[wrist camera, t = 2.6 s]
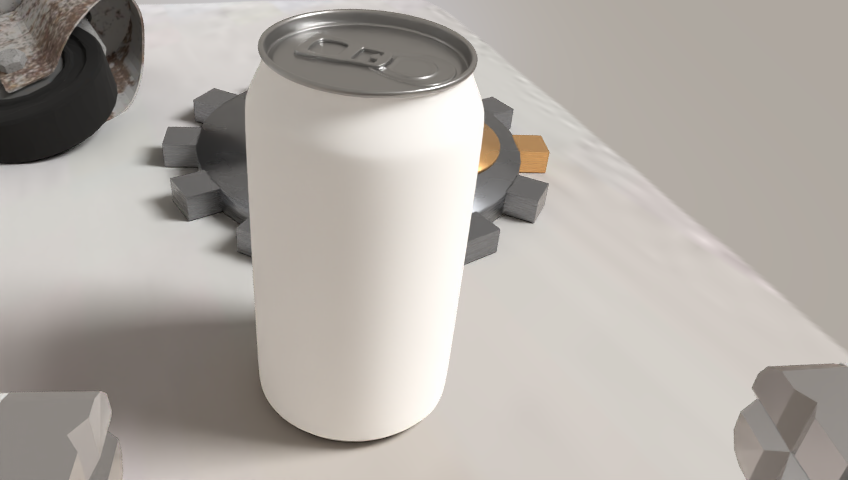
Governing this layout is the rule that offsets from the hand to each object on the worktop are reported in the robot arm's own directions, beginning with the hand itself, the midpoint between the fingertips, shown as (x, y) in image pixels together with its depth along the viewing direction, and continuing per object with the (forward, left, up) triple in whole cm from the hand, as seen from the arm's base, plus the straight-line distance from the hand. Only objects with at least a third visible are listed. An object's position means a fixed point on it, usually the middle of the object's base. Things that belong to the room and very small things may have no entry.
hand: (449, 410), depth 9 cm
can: (0, +12, -12) cm, 17 cm away
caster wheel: (-15, +32, -12) cm, 37 cm away
